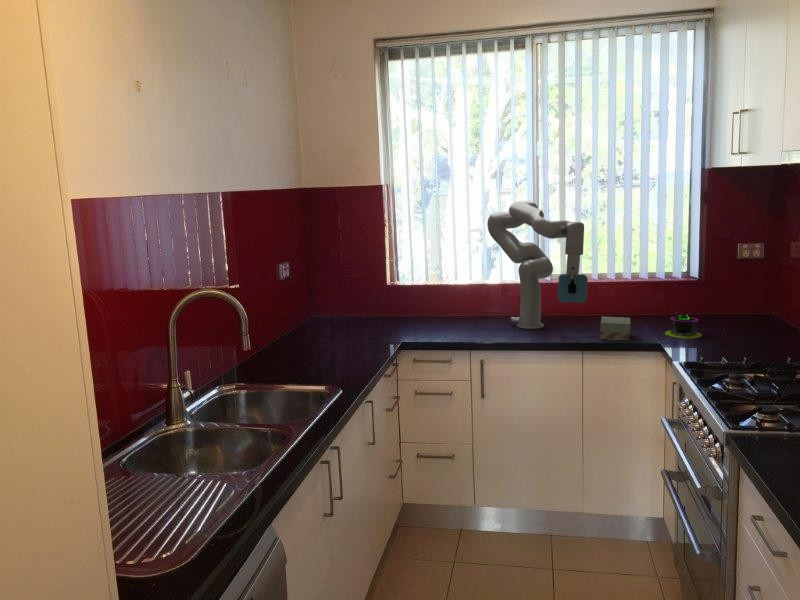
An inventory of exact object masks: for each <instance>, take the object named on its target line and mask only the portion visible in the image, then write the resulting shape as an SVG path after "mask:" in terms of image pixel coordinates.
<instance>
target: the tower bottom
mask: <svg viewBox="0 0 800 600" xmlns="http://www.w3.org/2000/svg"><path fill="white" fill-rule="evenodd" d="M630 335H631V332H630V333H614V332H600V331H599V340H600V339H624V340H629V341H630Z"/></svg>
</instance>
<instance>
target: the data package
mask: <svg viewBox="0 0 800 600" xmlns="http://www.w3.org/2000/svg"><path fill="white" fill-rule="evenodd" d="M569 276H570V277H571V275H569ZM569 276H567V277H566V273H561V274H559V275H558V285H557V286H558V287H557V289H558V290H557V299H558V302H560V303H571V304H584V303H586V302H587V299H588V286H589V285H588V284H589V279H588V276H587V275H586V274H583V273H578V277H576V293H568V286H569ZM574 277H575V276H574ZM574 280H575V279H574Z"/></svg>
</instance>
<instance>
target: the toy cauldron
mask: <svg viewBox="0 0 800 600" xmlns="http://www.w3.org/2000/svg"><path fill="white" fill-rule="evenodd" d="M685 309H686V308H685ZM679 311H681V309H679ZM685 311H691V309H689V310H688V309H686V310H685ZM675 314H678V311H677V312H675ZM669 319H670V320H672V325H673V328H674V329H673V330H667V331H665V332H664V335H666V336H668V335H669V336H668V337H673V338H679V339H699V338H701V337H702V336H703V335H702V334H701V333H700V332H697V331H696V330H694V327H695V323H698V321H699V319H698V318H695V317H693V316H689V315H688V314H686V315H681V314H679V315H675V316H672V317H670V318H669ZM693 330H694V331H693Z"/></svg>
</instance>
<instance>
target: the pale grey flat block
mask: <svg viewBox="0 0 800 600" xmlns="http://www.w3.org/2000/svg"><path fill="white" fill-rule="evenodd" d="M599 328H600V330H599V333H600V332H614V333H630V334H631V317H621V316H620V317H617V316H601V320H600V327H599Z"/></svg>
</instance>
